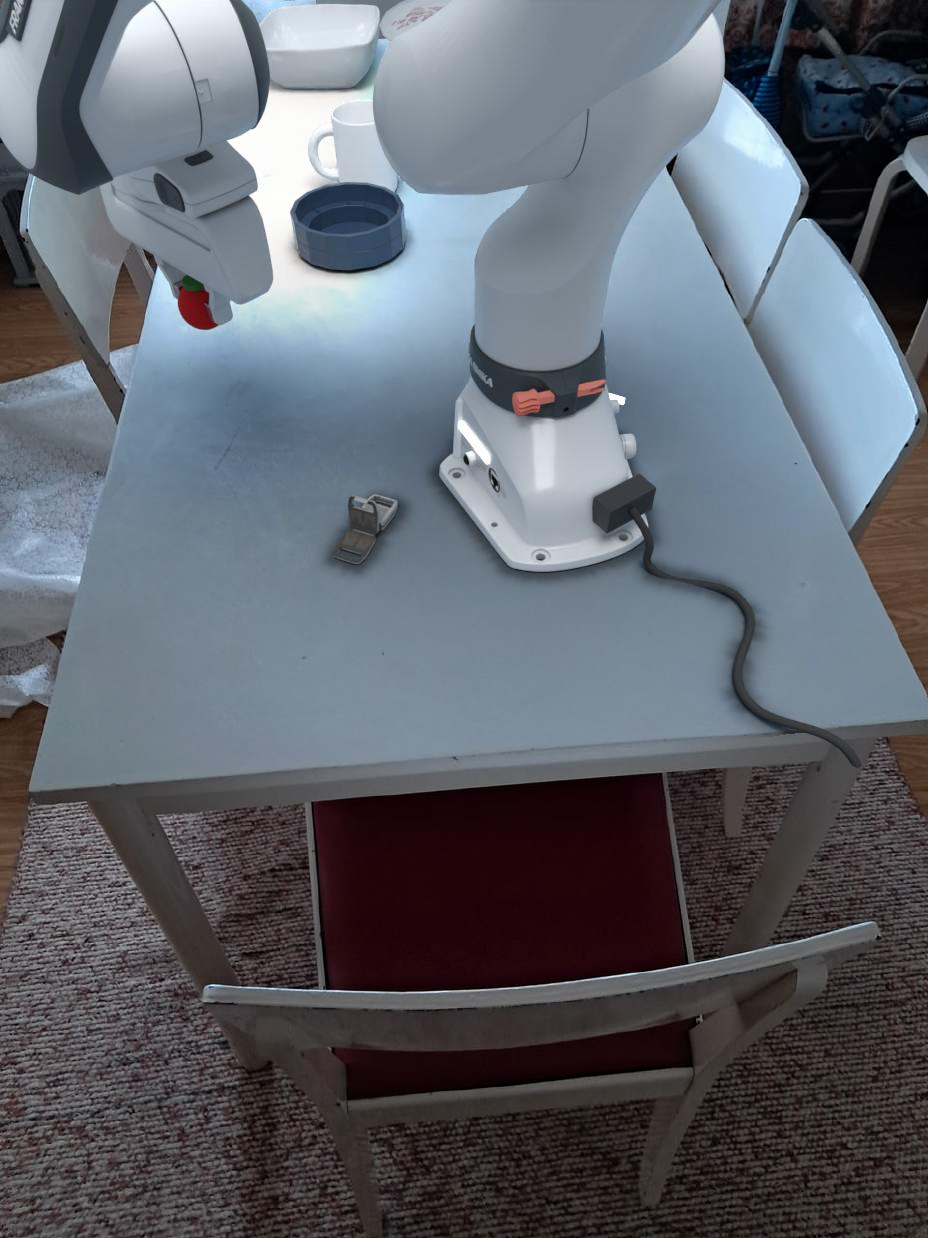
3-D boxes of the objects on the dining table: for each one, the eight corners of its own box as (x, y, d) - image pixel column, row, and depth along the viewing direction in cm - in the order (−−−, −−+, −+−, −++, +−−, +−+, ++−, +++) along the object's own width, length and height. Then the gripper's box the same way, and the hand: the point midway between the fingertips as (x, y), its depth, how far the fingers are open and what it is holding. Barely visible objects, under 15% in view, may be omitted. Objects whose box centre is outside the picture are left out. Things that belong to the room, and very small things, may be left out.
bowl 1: (254, 97, 145) (244, 45, 139) (275, 52, 158) (267, 2, 152) (376, 98, 144) (371, 45, 138) (387, 52, 157) (383, 2, 151)
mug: (313, 206, 121) (301, 127, 113) (315, 178, 126) (304, 101, 118) (398, 201, 121) (393, 122, 113) (397, 174, 127) (392, 97, 119)
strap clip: (373, 498, 84) (368, 464, 81) (401, 506, 83) (397, 473, 80) (331, 558, 79) (324, 525, 76) (360, 567, 78) (354, 534, 75)
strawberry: (234, 334, 81) (222, 286, 77) (186, 342, 80) (172, 294, 76) (229, 310, 83) (217, 262, 80) (183, 317, 83) (168, 270, 79)
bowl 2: (417, 263, 111) (415, 225, 107) (308, 282, 109) (302, 243, 105) (390, 212, 120) (387, 175, 116) (288, 228, 117) (282, 191, 113)
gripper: (58, 130, 73) (113, 284, 84) (201, 204, 64) (242, 366, 74) (123, 107, 76) (168, 259, 87) (269, 175, 67) (299, 335, 77)
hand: (203, 309), depth 80 cm, fingers closed on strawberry, 4 cm apart
